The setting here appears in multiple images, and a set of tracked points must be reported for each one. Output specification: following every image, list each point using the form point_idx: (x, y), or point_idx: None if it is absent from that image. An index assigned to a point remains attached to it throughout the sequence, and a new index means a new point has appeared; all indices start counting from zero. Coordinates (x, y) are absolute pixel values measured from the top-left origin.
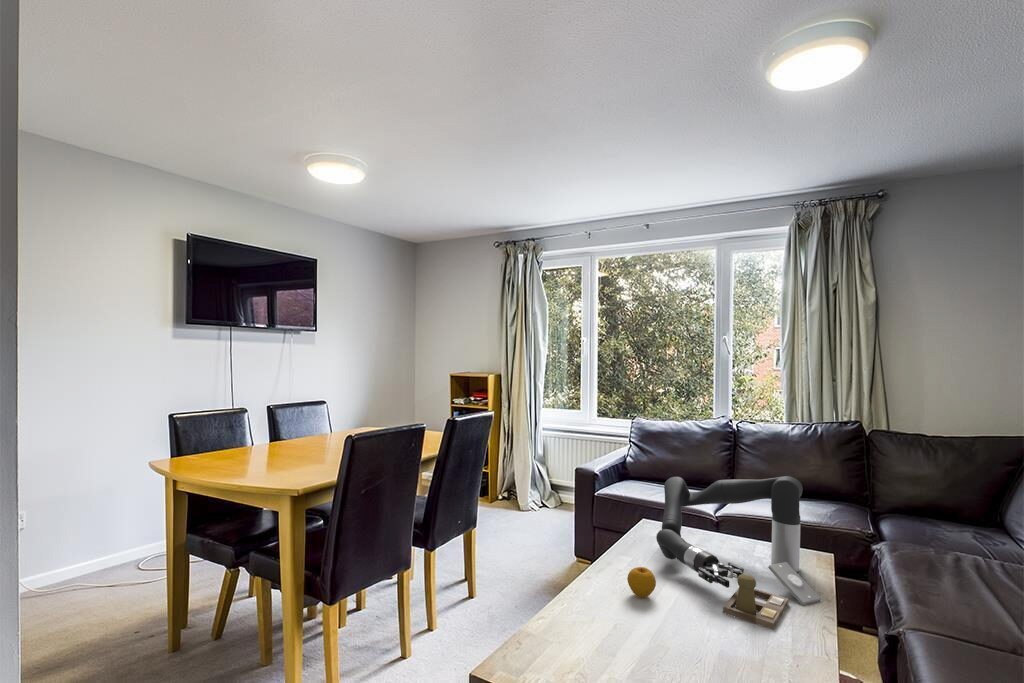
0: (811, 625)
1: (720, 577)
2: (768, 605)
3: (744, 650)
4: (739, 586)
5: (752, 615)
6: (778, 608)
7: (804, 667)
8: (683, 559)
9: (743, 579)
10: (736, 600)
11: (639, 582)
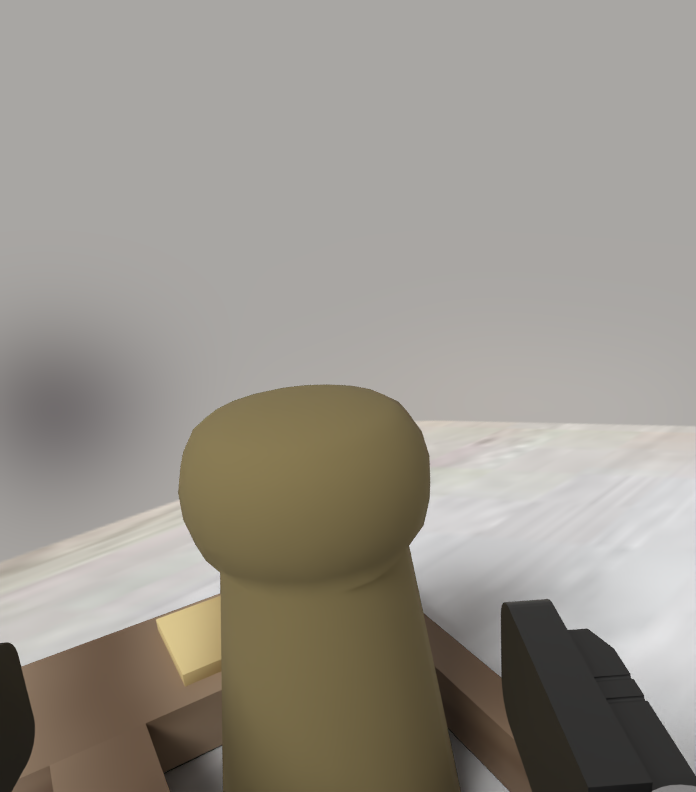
0: (48, 589)
1: (622, 740)
2: (67, 730)
3: (690, 497)
4: (397, 565)
5: None
6: (54, 673)
7: (465, 436)
8: None
9: (397, 401)
10: None
11: None
